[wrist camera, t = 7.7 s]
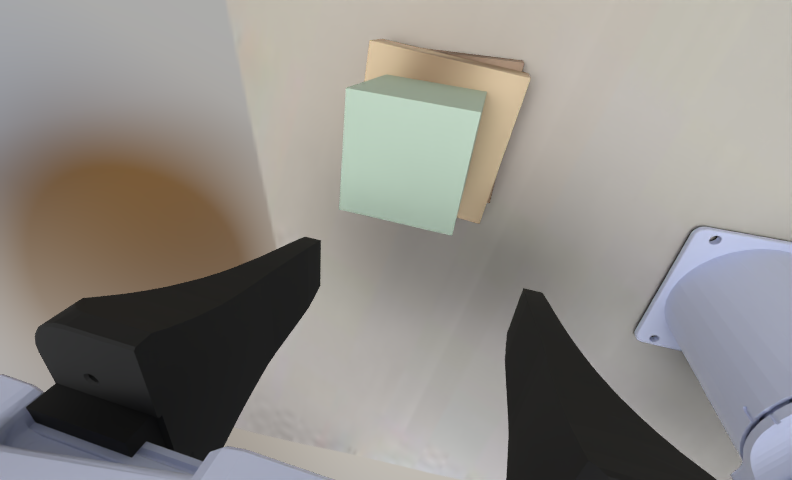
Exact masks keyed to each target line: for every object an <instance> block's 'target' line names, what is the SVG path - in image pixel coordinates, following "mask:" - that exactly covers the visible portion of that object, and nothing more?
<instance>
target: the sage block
mask: <svg viewBox="0 0 792 480" xmlns="http://www.w3.org/2000/svg"><path fill="white" fill-rule="evenodd" d="M486 94H487V92H486V91H480V90H474V89H468V88H462V87H457V86H451V85H445V84H439V83H433V82H428V81H422V80H416V79H410V78H405V77H399V76H393V75H387V74H386V75H383V76H380V77H377V78H374V79H371V80H368V81H365V82H362V83H359V84H356V85H353V86H350V87H347V88H346V97H345V115H344V133H343V150H342V168H341V186H340V203H339V209H340V210H344V211H348V212H353V213H357V214H361V215H365V216H370V217H374V218H378V219H382V220H387V221H391V222H395V223H400V224H404V225H408V226H412V227H417V228H421V229H425V230H429V231H434V232H438V233H442V234H447V235H451V236H452V234H453V230H454V226H455V222H456V218H457V214H458V211H459V207H460V203H461V199H462V195H463V191H464V187H465V183H466V179H467V174H468V170H469V166H470V162H471V158H472V153H473V149H474V145H475V141H476V137H477V132H478V128H479V124H480V120H481V115H482V111H483V107H484V103H485V99H486Z"/></svg>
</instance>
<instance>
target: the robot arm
mask: <svg viewBox="0 0 792 480" xmlns="http://www.w3.org/2000/svg"><path fill="white" fill-rule="evenodd" d="M713 236H718V237H717V238H716V239H715V240H713V241H709V239H710V238H711V237H713ZM320 257H321V240H316V239H312V238H308V237H303V238H301V239H298V240H296V241H294V242H292V243H289V244H287V245H285V246H283V247H281V248H279V249H276V250H274V251H272V252H270V253H268V254H266V255H263V256H261V257H259V258H256V259H254V260H251V261H249V262H247V263H244V264H242V265H239V266H237V267H234V268H231V269H229V270H226V271H223V272H220V273H217V274H214V275H211V276H207V277H204V278H201V279H197V280H193V281H189V282H185V283H181V284H177V285H173V286H168V287H163V288H158V289H153V290H147V291H141V292H134V293H127V294H120V295H111V296H101V297H92V298H82V299H81V300H79V301H78V302H76V303H75V304H73V305H71V306H70V307H68V308H67V309H65V310H64V311H62V312H61V313H59V314H58V315H56V316H54V317H53V318H51V319H50V320H48V321H47V322H45V323H44V324H42V325H40V326H39V327H38V329H37V331H36V333H35V342H36V346H37V348H38V351H39V353H40V355H41V357H42V359H43V360H44V362H45V364H46V366H47V368H48V370H49V372H50V373H51V375H52V377H53V379H54V381H55V383H56V384H55V385H53V386H52V387H51V388H50V389H48V390H47V391H46V392H45V393H44V392H43V391H42V390H41V389H39V388H38V387H36V386H34V385H32V384H30V383H27V382H24V381H21V380H18V379H15V378H13V377H10V376H7V375H4V374H0V480H334V479H331V478H328V477H325V476H322V475H319V474H316V473H314V472H310V471H308V470H305V469H302V468H299V467H296V466H293V465H290V464H287V463H284V462H281V461H278V460H276V459H273V458H269V457H267V456H264V455H261V454H258V453H255V452H252V451H249V450H246V449H241V448H235V447H229V446H227V447H224V445H225V443H226V441H227V439H228V437H229V435H230V433H231V431H232V429H233V427H234V425H235V423H236V421H237V419H238V417H239V415H240V413H241V412H242V410H243V408H244V406H245V404H246V402H247V401H248V399H249V397H250V395H251V393H252V391H253V390H254V388H255V386H256V384H257V383H258V381H259V379H260V377H261V376H262V374H263V372H264V370H265V369H266V367H267V365H268V364H269V362H270V361H271V359H272V358H273V356H274V355H275V353H276V352H277V350H278V349H279V348H280V346H281V345H282V344H283V342H284V341H285V340H286V338H287V337H288V335H289V334H290V333H291V331H292V330H293V329H294V327H295V326H296V325H297V323H298V322H299V320H300V319H301V318H302V316H303V315H304V313H305V312H306V311H307V309H308V308H309V306H310V304H311V302H312V301H313V299H314V297H315V295H316V293H317V291H318V289H319V287H320ZM634 333H635V336H636V339H637V340H639V341H641V342H645V343H649V344H653V345H658V346H662V347H666V348H671V349H675V350H679V351H682V352H683V354H684V356H685V357H686V359H687V361H688V363H689V365H690V367H691V368H692V370H693V372H694V374H695V376H696V377H697V379H698V381H699V383H700V385H701V386H702V388H703V390H704V392H705V394H706V396H707V397H708V399H709V401H710V403H711V405H712V406H713V408H714V410H715V412H716V414H717V416H718V417H719V419H720V421H721V423H722V425H723V426H724V428H725V430H726V432H727V434H728V435H729V437H730V439H731V441H732V443H733V445H734V446H735V448H736V450H737V452H738V454H739V455H740V457H741V459H742V461H743V462H742V464H741V466H740V467H739V468H738V469H737V470H736V471H735V472H733V473H732V474H731V477H732V479H733V480H792V242H789V241H783V240H778V239H772V238H767V237H761V236H755V235H750V234H744V233H739V232H733V231H728V230H722V229H717V228H711V227H699V228H696V229H695V230H693V232H692V233H691V234H690V236H689V238H688V239H687V241H686V243H685V245H684V246H683V248H682V250H681V252H680V253H679V255H678V257H677V259H676V260H675V262H674V264H673V265H672V267H671V269H670V271H669V272H668V274H667V276H666V278H665V279H664V281H663V283H662V285H661V286H660V288H659V290H658V292H657V293H656V295H655V297H654V298H653V300H652V302H651V304H650V305H649V307H648V309H647V311H646V312H645V314H644V316H643V318H642V319H641V321H640V323H639V325H638V326H637V328H636V330H635V332H634ZM653 335H656V336H655V337H651V336H653ZM505 370H506V388H507V405H508V423H509V440H508V461H507V478H506V480H716V479H715V478H714V477H712V476H711V475H710V474H708V473H707V472H706V471H705V470H703V469H702V468H701V467H699V466H698V465H697V464H695V463H694V462H693V461H691V460H690V459H689V458H687V457H686V456H685V455H683V454H682V453H681V452H680V451H679V450H677V449H676V448H675V447H674V446H673V445H671V444H670V443H669V442H668V441H667V440H665V439H664V438H663V437H662V436H661V435H660V434H658V433H657V432H656V431H655V430H654V429H653V428H652V427H650V426H649V425H648V424H647V423H646V422H645V421H644V420H643V419H642V418H641V417H639V416H638V415H637V414H636V413H635V412H634V411H633V410H632V409H631V408H630V407H629V406H628V405H627V404H626V403H625V402H624V401H623V400H622V399H621V398H620V397H619V396H618V395H617V394H616V393H615V392H614V391H613V390H612V389H611V387H610V386H609V385H608V384H607V383H606V382H605V381H604V380H603V378H602V377H601V376H600V375H599V374H598V373H597V372H596V370H595V369H594V368H593V367H592V366H591V364H590V363H589V362H588V360H587V359H586V358H585V357H584V355H583V354H582V353H581V351H580V350H579V349H578V347H577V346H576V345H575V343H574V342H573V340H572V339H571V337H570V336H569V334H568V333H567V331H566V330H565V329H564V327H563V325H562V324H561V322H560V321H559V319H558V317H557V316H556V314H555V313H554V311H553V309H552V308H551V306H550V304H549V303H548V301H547V299H546V298H545V296H544V295H543V293H541V292H537V291H532V290H528V289H524V288H523V291H522V294H521V296H520V299H519V302H518V305H517V308H516V310H515V313H514V316H513V319H512V321H511V324H510V327H509V330H508V332H507V341H506V354H505Z"/></svg>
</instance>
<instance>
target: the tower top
mask: <svg viewBox="0 0 792 480" xmlns="http://www.w3.org/2000/svg"><path fill="white" fill-rule="evenodd" d="M386 74H387V75H393V76H399V77H405V78H410V79H416V80H422V81H428V82H433V83H439V84H445V85H451V86H457V87H462V88H468V89H474V90H480V91H486V92H487V94H486V99H485V103H484V107H483V111H482V115H481V120H480V124H479V128H478V132H477V137H476V141H475V145H474V149H473V153H472V158H471V162H470V166H469V170H468V174H467V179H466V183H465V187H464V191H463V195H462V199H461V203H460V207H459V211H458V214H457V218H461V219H464V220H468V221H471V222H474V223H478V224H479V223H480V220H481V218H482V215H483V212H484V209H485V206H486V203H487V201H488V198H489V195H490V192H491V189H492V187H493V184H494V181H495V178H496V175H497V172H498V170H499V167H500V164H501V161H502V158H503V155H504V153H505V150H506V147H507V144H508V141H509V139H510V136H511V133H512V130H513V127H514V124H515V122H516V119H517V116H518V113H519V110H520V107H521V105H522V102H523V99H524V96H525V93H526V91H527V88H528V85H529V82H530V79H531V78H530V76H529V74H528V73H525V72H521V71H516V70H512V69H508V68H504V67H499V66H495V65H491V64H487V63H482V62H478V61H474V60H470V59H465V58H461V57H457V56H453V55H448V54H444V53H440V52H436V51H432V50H427V49H423V48H419V47H415V46H410V45H406V44H402V43H398V42H393V41H389V40H385V39H377V40H370V42H369V49H368V57H367V65H366V72H365V80H364V82H365V81H368V80H371V79H374V78H377V77H380V76H383V75H386Z"/></svg>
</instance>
